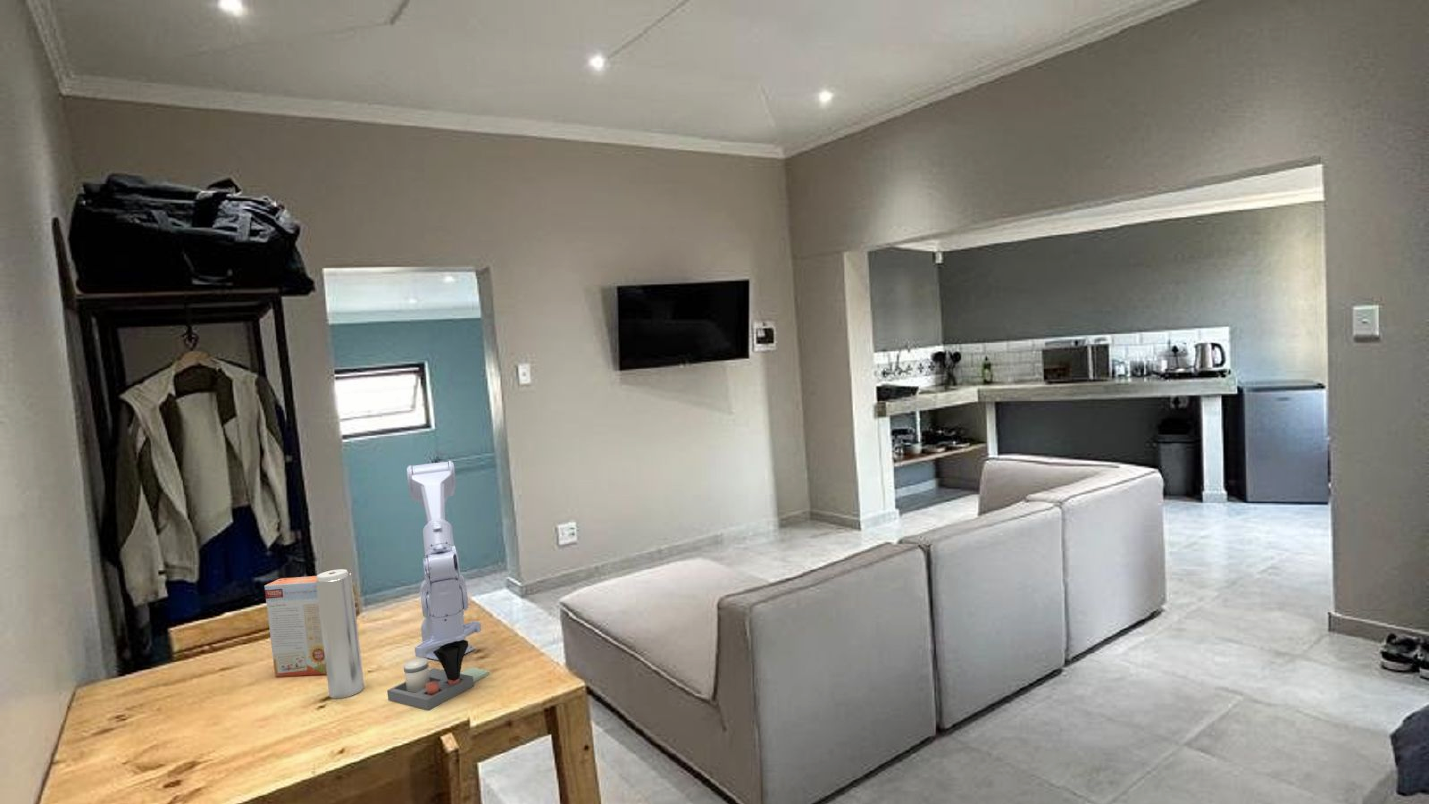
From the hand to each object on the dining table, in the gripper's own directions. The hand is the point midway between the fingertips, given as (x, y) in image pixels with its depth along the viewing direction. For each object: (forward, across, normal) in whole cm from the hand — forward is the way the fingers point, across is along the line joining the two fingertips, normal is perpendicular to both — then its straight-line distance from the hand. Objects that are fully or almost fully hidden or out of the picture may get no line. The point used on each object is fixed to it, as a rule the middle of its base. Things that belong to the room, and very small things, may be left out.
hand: (453, 679), depth 148 cm
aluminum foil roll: (+3, -9, +22) cm, 24 cm away
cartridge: (+2, -4, +6) cm, 8 cm away
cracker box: (+3, -5, +41) cm, 42 cm away
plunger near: (+1, -5, 0) cm, 5 cm away
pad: (+2, +6, +2) cm, 7 cm away
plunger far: (+2, 0, 0) cm, 2 cm away
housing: (+2, -2, +4) cm, 5 cm away
